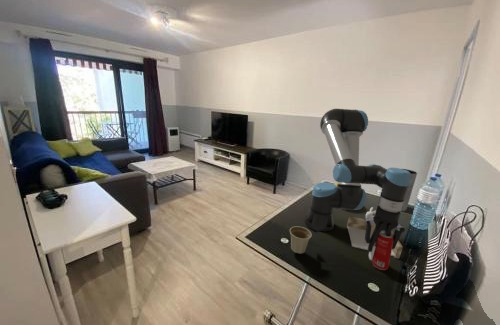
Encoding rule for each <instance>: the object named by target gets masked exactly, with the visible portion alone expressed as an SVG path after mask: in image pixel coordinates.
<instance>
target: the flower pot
mask: <svg viewBox="0 0 500 325" xmlns="http://www.w3.org/2000/svg"><path fill="white" fill-rule="evenodd" d="M289 234H290V248H291V251H293V252H294V253H296V254H299V255H300V254H304V253H306V250H307V246H308V244H309V241H310V239H311V238H312V236H313V235H312V232H311V231H310V230H309V229H308V228H306V227H303V226H297V225H296V226H292V227H291V228H289Z"/></svg>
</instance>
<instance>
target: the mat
mask: <svg viewBox="0 0 500 325" xmlns="http://www.w3.org/2000/svg"><path fill="white" fill-rule="evenodd" d="M346 227H347V232H348V235H349V239H350V243H351V247H352V248H356V249H362V250H365V251H369V250H368V246H369V243H366V240H365V233H366V230H363V229H358V228H353V227H348V226H347V225H346ZM372 234H373V232H372V231H371V234H370V238H371V236H372ZM394 256H395V255H394V253H393V251H391V257H394Z"/></svg>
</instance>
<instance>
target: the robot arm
mask: <svg viewBox="0 0 500 325" xmlns="http://www.w3.org/2000/svg"><path fill="white" fill-rule="evenodd" d="M319 122H320V124H319V127H320V130H321V133H322V134H323V135H324V136H325V138H326V141H327V144H328V146H329V149H330V152H331V155H332V158H333V161H334V164H335V165H334V167H333V170H332V177H333V179H334V181H335V182H336V183H337V182H339V183H338V184H337V186H336V185H335V183H332V182H327V181H326V182H325V181H323V182H318V183H316V184H315V185H314V186H313V188H312V192H311V201H310V206H309V210H308V212H307V213H306V215H305V217H304V224H305V225H306V226H307V227H309V228H310V229H312V230H313V231H320V232H329V231H331V230H333V229H334V218H333V212H334V210H349V211H353V210H354V211H357V210H361V209H362V208H363V207H364V206H365V204H366V202H367V193H366V190H365V189H363V188H362V185H363V184H364V185H375V186H377V187H379V188H381V192H380V196H379V199H378V201H377V202H378V203H377V204H378V205H377V207H376V210H375V211H376V213H374V215H373V216H374V217H373V219H368V218H366V217H365V219H366V223H367V225H366V233H365V240H366V243H369V246H368V250H367V251H368V259H369V261H372V260H373V255H374V251H375V248H376V247H375V242H376V240H377V238H378V235H379V233H380V232H381V231H382V230H385V234H386V236H390V235H391V230H392V231H393V230H394V231H393V232H394V234H393V238H394V241H393V245H392V249H394V248H395V246H396V244H397V242H398V240H399V241H400V237H401V235H402V233H403V232H405V230H406V229H405V227H404V226H403V225H402V224H399V218H400V216H401V212H402V211H401V209H402V206H403V202H404V199H405V196H406V192H407V189H408V186H409V184H410V178H411V173H410V172H409V171H407V170H408V169H407V170H403V169H404V168H398V167H388V168H385V167H383V166H382V165H378V164H375V163H371V164H369V165H359V161H360V137H361V136H362V135H363V134H364V132H365V131H366V130H367V128H368V125H369V117H368V115H367V113H366V112H365V111H363V110H360V109H347V108H345V109H344V108H332V109H330V110H328V111H326V112H325V113H324V114H323V116H322V117H321V119H320V121H319ZM373 222H374V223H375V224H376V226H375V229H374V232H373V234H372V236H371V238H370V234H371V225H372V224H373Z"/></svg>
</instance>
